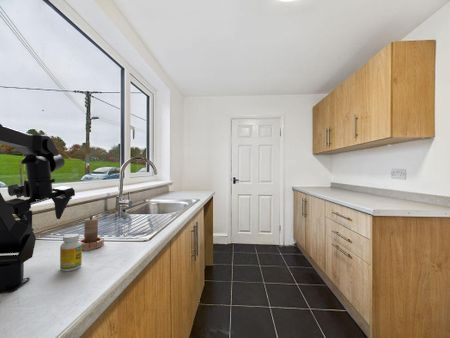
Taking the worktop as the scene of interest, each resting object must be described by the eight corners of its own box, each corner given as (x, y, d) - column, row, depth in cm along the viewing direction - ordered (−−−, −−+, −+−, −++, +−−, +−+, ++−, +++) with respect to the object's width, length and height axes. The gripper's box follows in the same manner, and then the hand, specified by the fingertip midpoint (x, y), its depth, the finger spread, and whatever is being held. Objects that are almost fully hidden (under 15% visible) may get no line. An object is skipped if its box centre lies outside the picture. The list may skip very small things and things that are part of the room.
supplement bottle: (64, 265, 72) (64, 233, 72) (84, 263, 74) (84, 232, 74) (56, 272, 67) (57, 238, 67) (77, 270, 68) (78, 237, 68)
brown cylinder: (97, 245, 89) (97, 214, 89) (83, 247, 87) (83, 215, 87) (97, 242, 93) (97, 212, 93) (84, 243, 91) (84, 213, 91)
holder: (98, 249, 86) (99, 243, 86) (73, 250, 85) (73, 244, 85) (106, 242, 95) (107, 236, 95) (83, 242, 93) (83, 237, 93)
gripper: (48, 168, 83) (53, 210, 86) (-18, 180, 65) (-9, 232, 68) (74, 171, 80) (77, 215, 83) (12, 185, 62) (19, 239, 65)
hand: (44, 224), depth 75 cm, fingers open, 9 cm apart
